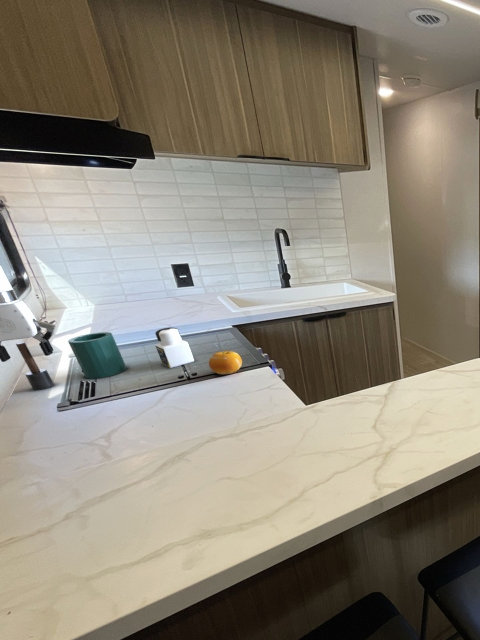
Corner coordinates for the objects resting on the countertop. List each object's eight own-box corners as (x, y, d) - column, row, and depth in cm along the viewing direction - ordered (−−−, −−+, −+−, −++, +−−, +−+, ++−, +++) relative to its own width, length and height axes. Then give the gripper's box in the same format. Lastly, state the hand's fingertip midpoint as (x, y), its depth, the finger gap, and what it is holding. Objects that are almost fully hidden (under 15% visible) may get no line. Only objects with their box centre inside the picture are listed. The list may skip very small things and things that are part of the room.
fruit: (251, 358, 130) (229, 340, 126) (232, 376, 124) (209, 359, 120) (240, 365, 135) (218, 348, 131) (222, 383, 129) (199, 366, 125)
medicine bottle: (162, 363, 136) (148, 330, 131) (186, 357, 142) (174, 324, 137) (170, 368, 132) (156, 333, 128) (194, 361, 138) (182, 328, 133)
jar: (76, 378, 126) (58, 342, 121) (106, 366, 135) (90, 332, 130) (106, 378, 126) (90, 342, 121) (134, 366, 135) (120, 332, 130)
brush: (28, 390, 119) (4, 345, 113) (44, 383, 123) (21, 340, 117) (42, 390, 119) (18, 345, 113) (58, 383, 123) (35, 340, 117)
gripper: (-60, 305, 103) (-22, 367, 110) (33, 297, 110) (62, 355, 118) (-42, 299, 109) (-7, 358, 116) (45, 292, 116) (73, 348, 124)
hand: (28, 357), depth 117 cm, fingers open, 8 cm apart
